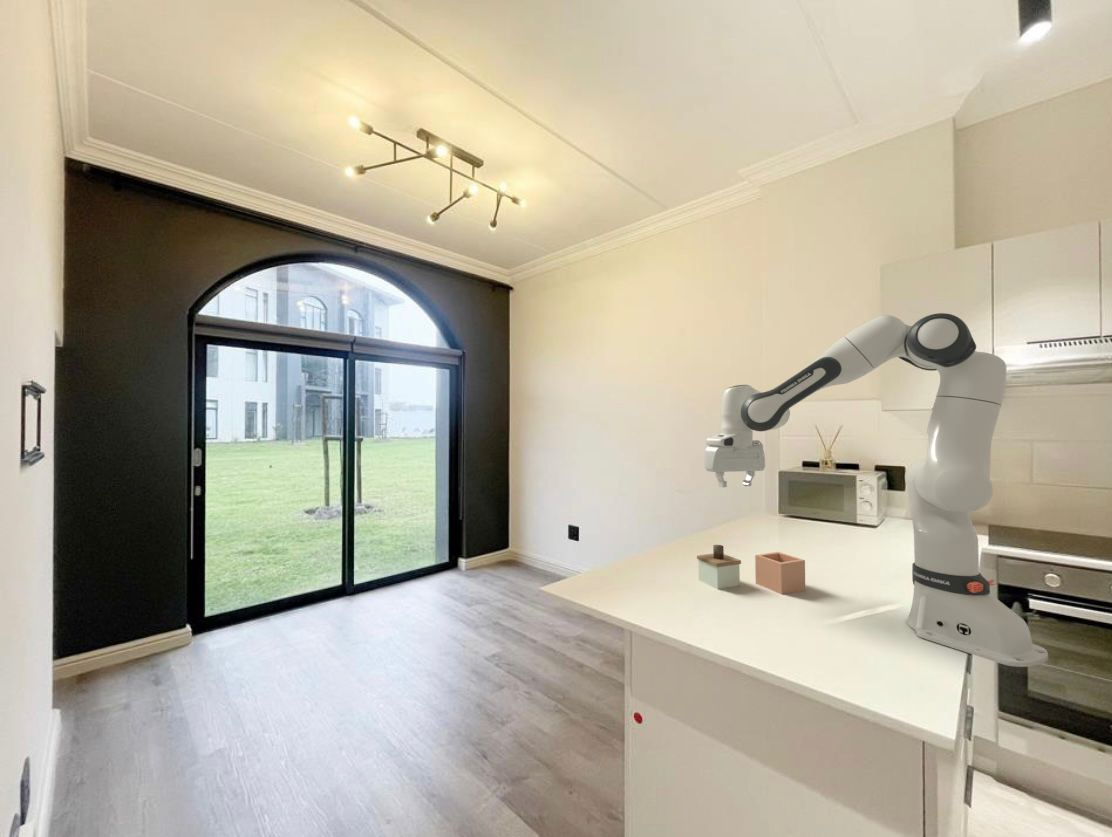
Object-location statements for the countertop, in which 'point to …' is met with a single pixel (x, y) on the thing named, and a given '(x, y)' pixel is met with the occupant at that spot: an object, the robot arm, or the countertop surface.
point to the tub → (719, 575)
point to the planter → (780, 572)
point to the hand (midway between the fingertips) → (735, 486)
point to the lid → (718, 558)
